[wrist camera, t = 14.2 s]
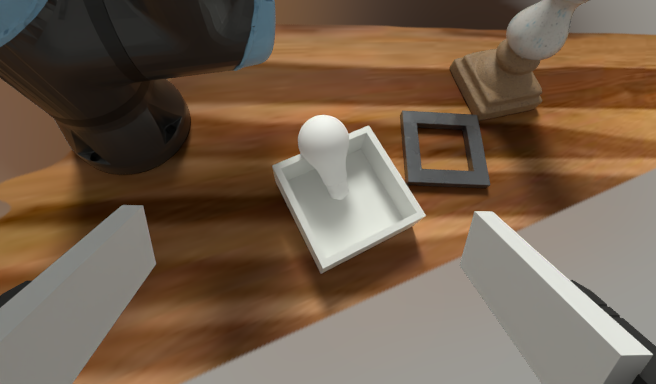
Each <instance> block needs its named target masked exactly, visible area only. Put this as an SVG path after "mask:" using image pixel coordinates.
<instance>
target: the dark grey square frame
mask: <svg viewBox="0 0 656 384" xmlns="http://www.w3.org/2000/svg"><path fill="white" fill-rule="evenodd" d="M400 121H401V133H402V145H403V157H404V169H405V181H406V185H416V186H441V187H466V188H487V187H488V186H490V181H489V176H488V170H487V165H486V160H485V154H484V149H483V144H482V139H481V133H480V128H479V123H478V117H477V115H470V114H452V113H434V112H416V111H402V112H401V115H400ZM417 128H436V129H455V130H462V131H463V137H464V143H465V149H466V155H467V161H468V167H469V171H456V170H433V169H421V159H420V150H419V140H418V131H417Z"/></svg>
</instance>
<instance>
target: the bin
mask: <svg viewBox="0 0 656 384" xmlns="http://www.w3.org/2000/svg"><path fill="white" fill-rule="evenodd" d="M348 135H349V147H348V152H347V156H346V172H347V178H346V180H347V184H348V189H349V193H348V194H347V195H346V196H345V198H344V199H342V200H338V199H333V198H331V197H330V194H329V192H328V190H327V186H326V185H325V184H324V183H323V181H322V178H321V176H320V175H319V173H318V171H317V170H316V169H315V168H314V167H313V166H312V165H311V164H310V163H309V162H308V161H307V160H306V159H305V158H304V157H303V156H302V154H299V155H296V156H294V157H292V158H289V159H287V160H284V161H282V162H280V163H277V164H275V165H272V168H273V172H274V177H275V182H276V184H277V186H278V188H279V190H280V192H281V194H282V196H283V198H284V200H285V202H286V204H287V206H288V208H289V210H290V212H291V214H292V216H293V218H294V221H295V223H296V225H297V227H298V229H299V231H300V233H301V235H302V237H303V239H304V241H305V243H306V245H307V247H308V249H309V251H310V253H311V255H312V257H313V259H314V261H315V263H316V265H317V267H318V270H319V272H320V274H322V273H324V272H326V271H327V270H329V269H331V268H333V267H335V266H337V265H339V264H341V263H343V262H345V261H347V260H349V259H351V258H353V257H354V256H356V255H358V254H360V253H362V252H364V251H366V250H368V249H370V248H372V247H374V246H376V245H378V244H380V243H381V242H383V241H385V240H387V239H389V238H391V237H393V236H395V235H397V234H399V233H401V232H403V231H405V230H407V229H408V228H410V227H412V226H414V225H415V224H416V223H417V222H419V221H420V220H421V219H422V218H424V217H425V216H426V215H425V213H424V212H423V210H422V208H421V207H420V205H419V204H418V202H417V201H416V199H415V197H414V196H413V194H412V193H411V191H410V190H409V188H408V186H407V185H406V183H405V182H404V180H403V179H402V177H401V175H400V174H399V172H398V171H397V169H396V168H395V166H394V164H393V163H392V161H391V160H390V158H389V156H388V155H387V153H386V152H385V150H384V149H383V147H382V145H381V144H380V142H379V141H378V139H377V138H376V136H375V134H374V133H373V131H372V130H371V128H370V127H369V126H366V127H364V128H362V129H359V130H357V131H354V132H352V133H350V134H348Z"/></svg>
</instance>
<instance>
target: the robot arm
mask: <svg viewBox="0 0 656 384" xmlns="http://www.w3.org/2000/svg"><path fill="white" fill-rule="evenodd" d="M274 39H275V2H274V0H0V78H1V79H3V80H4V81H5V82H6V83H8V84H9V85H10V86H12V87H13V88H14V89H16V90H17V91H18V92H20V93H21V94H22V95H24V96H25V97H26V98H28V99H29V100H30V101H32V102H33V103H34V104H36V105H37V106H38V107H40V108H41V109H42V110H44V111H45V112H46V113H48V114H49V115H50V116H51V117H53V118H54V120H55V121H56V123H57V125H58V127H59V128H60V130H61V132H62V133H63V135H64V137H65V139H66V141H67V142H68V144H69V146H70V147H71V149H72V150H73V151H74V152H75V153H76V154H77V155H78V156H79V157H80V158H82V159H83V160H84V161H86V162H87V163H89V164H90V165H92V166H93V167H95V168H97V169H99V170H101V171H104V172H107V173H112V174H135V173H140V172H144V171H147V170H150V169H152V168H155V167H157V166H159V165H160V164H162V163H164V162H165V161H167V160H168V159H169V158H171V157H172V156H173V155H174V154H175V153H176V152H177V151H178V150H179V148H180V147H181V146H182V144H183V143H184V141H185V139H186V137H187V135H188V132H189V128H190V113H189V109H188V106H187V104H186V103H185V101H184V99H183V97H182V96H181V94H180V92H179V91H178V90H177V89H176V87H175V86H174V85H173V84H172V83H170V82H169V81H168V80H166V79H167V78H175V77H183V76H191V75H199V74H207V73H215V72H223V71H231V70H234V71H236V70H239V69H241V68H243V67H247V66H252V65H257V64H261V63H263V62H265V61H266V60H267V59H268V58H269V56H270V55H271V53H272V50H273V46H274ZM155 265H156V261H155V257H154V252H153V248H152V243H151V239H150V234H149V230H148V225H147V221H146V216H145V212H144V207H143V205H122V206H120V207H119V208H118V209H117V210H116V211H115V212H113V213H112V214H111V215H110V216H109V217H107V218H106V219H105V220H104V221H103V222H102V223H100V224H99V225H98V226H97V227H96V228H94V229H93V230H92V231H91V232H90V233H88V234H87V235H86V236H85V237H84V238H83V239H81V240H80V241H79V242H78V243H77V244H75V245H74V246H73V247H72V248H71V249H70V250H68V251H67V252H66V253H65V254H64V255H62V256H61V257H60V258H59V259H58V260H57V261H55V262H54V263H53V264H52V265H51V266H49V267H48V268H47V269H46V270H45V271H44V272H42V273H41V274H40V275H39V276H38V277H36V278H35V279H34V280H33V281H25V282H24V283H22V284H20V285H18V286H16V287H14V288H12V289H11V290H9V291H7V292H5V293H3V294H2V295H1V296H0V384H72V383H73V382H74V380H75V379H76V377H77V376H78V375H79V373H80V372H81V370H82V369H83V367H84V366H85V365H86V363H87V362H88V360H89V359H90V357H91V356H92V355H93V353H94V352H95V350H96V349H97V348H98V346H99V345H100V343H101V342H102V340H103V339H104V338H105V336H106V335H107V333H108V332H109V330H110V329H111V328H112V326H113V325H114V323H115V322H116V320H117V319H118V318H119V316H120V315H121V313H122V312H123V311H124V309H125V308H126V306H127V305H128V303H129V302H130V301H131V299H132V298H133V296H134V295H135V293H136V292H137V291H138V289H139V288H140V286H141V285H142V284H143V282H144V281H145V279H146V278H147V276H148V275H149V274H150V272H151V271H152V269H153V268H154V266H155ZM460 267H461V268H462V270H463V271H464V272H465V274H466V276H468V278H469V280H470V281H471V283H472V284H473V286H474V287H475V288H476V290H477V291H478V293H479V294H480V295H481V297H482V299H483V300H484V301H485V303H486V304H487V306H488V307H489V309H490V310H491V311H492V313H493V314H494V316H495V317H496V319H497V320H498V322H499V323H500V324H501V326H502V327H503V329H504V330H505V332H506V333H507V335H508V336H509V337H510V339H511V340H512V342H513V343H514V345H515V346H516V347H517V349H518V350H519V352H520V353H521V355H522V356H523V357H524V359H525V360H526V362H527V363H528V365H529V366H530V368H531V369H532V370H533V372H534V373H535V375H536V376H537V378H538V379H539V380H540V382H541V383H542V384H656V346H655V345H654V344H652V343H651V342H650V341H649V340H648V339H647V338H645V337H644V336H643V335H642V334H641V333H640V332H638V331H637V330H636V329H635V328H634V327H633V326H631V325H630V324H629V323H628V322H627V321H625V320H624V319H623V318H620V316H619V315H618V313H616V312H615V311H614V310H613V309H612V308H610V307H607V304H606V303H605V302H603V301H602V300H601V299H600V298H599V297H598V296H597V295H595V294H594V293H593V292H592V291H590V290H589V289H587V288H585V287H584V286H582V285H580V284H578V283H577V282H575V281H573V280H569V279H568V278H566V277H565V276H564V275H563V274H562V273H561V272H560V271H559V270H558V269H556V268H555V267H554V266H553V265H552V264H550V262H548V261H547V260H546V259H545V258H544V257H543V256H542V255H541V254H540V253H538V252H537V251H536V250H535V249H534V248H533V247H532V246H530V245H529V244H528V243H527V242H526V241H525V240H524V239H523V238H522V237H520V236H519V235H518V234H517V233H516V232H515V231H514V230H513V229H511V228H510V227H509V226H508V225H507V224H506V223H505V222H504V221H502V220H501V219H500V218H499V217H498V216H497V215H496V214H495V213H493V212H485V211H475V212H474V215H473V219H472V223H471V226H470V230H469V233H468V237H467V241H466V244H465V248H464V251H463V255H462V258H461V262H460Z"/></svg>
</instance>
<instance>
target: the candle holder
mask: <svg viewBox="0 0 656 384" xmlns="http://www.w3.org/2000/svg"><path fill="white" fill-rule="evenodd" d="M587 1H589V0H542V1H540V2H538V3H536V4H534V5H532V6H530V7H528V8H526V9H524V10H522V11H521V12H519V13H518V14H517V15H516V16H515V17H514V18H513V19H512V20H511V22H510V23H509V25H508V28H507V31H506V38H507V39H505V40H504V41H502V42H501V43H500V44H499V46H498V47H497V49H492V50H486V51H481V52H476V53H472V54H468V55H466V56H464V57H462V58H458V59H455V60H454V61H453V63H452V64H451V66H450V71H451V73H452V76H453V78H454V80H455V82H456V84H457V86H458V87H459V89H460V91H461V93H462V95H463V97H464V99H465V101H466V103H467V105H468V107H469V109H470V111H471V113H472V115H477V117H478V121H479V120H486V119H491V118H496V117H501V116H505V115H510V114H515V113H520V112H525V111H529V110H532V109H534V108H536V107H537V106H538V105H539V104H540V103H541V102H542V99H541V97H540V94H542V89H541V87H540V85H539V83H538V81H537V79H536V78H535V76H534V74H533V72H532V71H533V70H535V69H536V68H537V66H538V65H539V63H540V60H542V59H546V58H549V57H551V56H553V55H555V54H556V53H557V52H558V51H559V50H560V49H561V48H562V47H563V45H564V43H565V42H566V40H567V37H568V33H569V29H570V23H571V18H572V15H573V13H574V11H575V9H576V8H577V7H578V6H579V5H581V4H583V3H586V2H587Z"/></svg>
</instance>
